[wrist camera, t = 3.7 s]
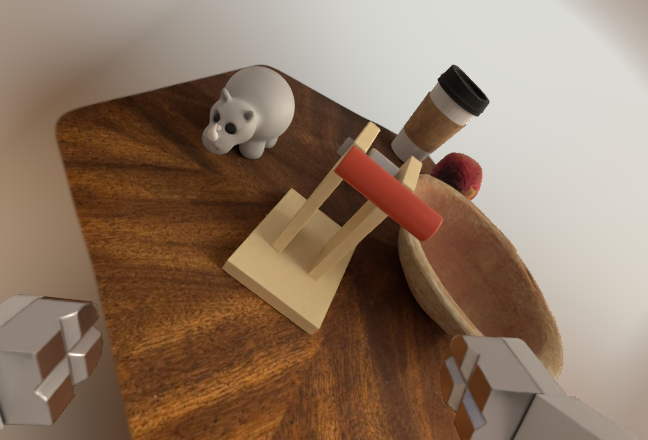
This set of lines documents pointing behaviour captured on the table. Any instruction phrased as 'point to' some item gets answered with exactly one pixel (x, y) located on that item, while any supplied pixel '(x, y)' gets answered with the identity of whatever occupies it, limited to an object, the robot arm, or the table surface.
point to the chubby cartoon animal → (250, 113)
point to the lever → (388, 191)
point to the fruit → (459, 174)
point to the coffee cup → (440, 115)
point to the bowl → (476, 277)
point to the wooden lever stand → (308, 245)
